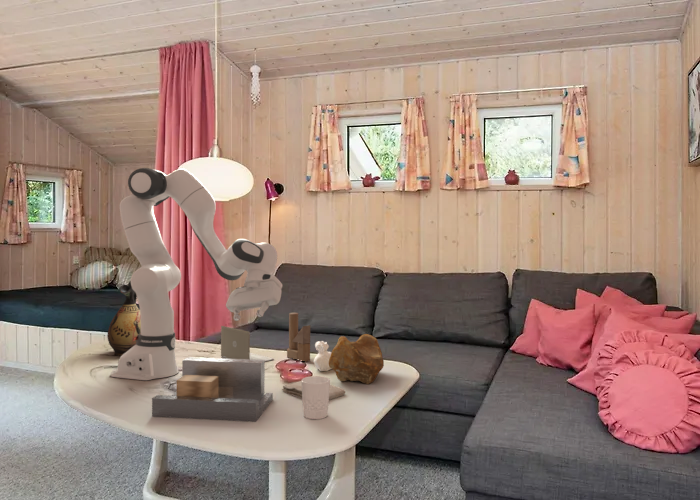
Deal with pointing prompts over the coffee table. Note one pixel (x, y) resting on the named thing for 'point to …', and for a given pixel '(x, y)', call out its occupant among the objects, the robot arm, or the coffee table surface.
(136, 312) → the ceramic jug
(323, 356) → the bust
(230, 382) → the block
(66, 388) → the coffee table surface
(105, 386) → the coffee table surface
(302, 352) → the wooden block
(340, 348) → the rough brown rock
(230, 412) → the base
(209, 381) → the oak block
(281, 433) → the coffee table surface
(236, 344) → the laptop
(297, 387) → the washcloth
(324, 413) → the white cup
